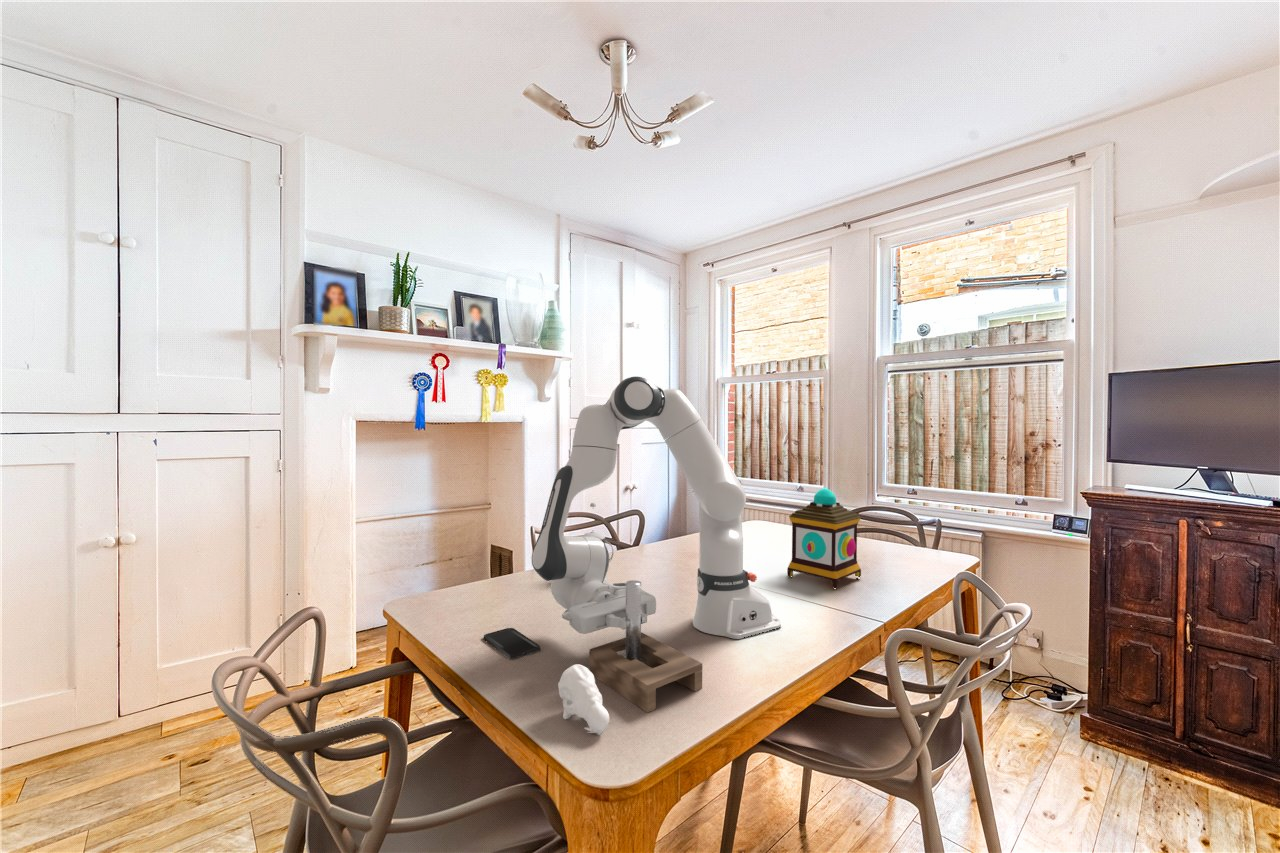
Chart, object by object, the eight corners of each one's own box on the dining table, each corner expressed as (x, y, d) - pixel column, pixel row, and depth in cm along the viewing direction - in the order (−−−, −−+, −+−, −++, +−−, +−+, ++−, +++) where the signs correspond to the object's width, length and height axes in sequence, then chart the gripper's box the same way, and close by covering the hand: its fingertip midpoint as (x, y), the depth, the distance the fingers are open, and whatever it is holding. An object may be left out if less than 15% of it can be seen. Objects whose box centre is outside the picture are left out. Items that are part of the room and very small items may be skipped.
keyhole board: (589, 672, 112) (589, 649, 111) (641, 654, 120) (641, 632, 120) (647, 712, 97) (647, 685, 97) (702, 688, 106) (702, 663, 105)
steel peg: (641, 660, 115) (642, 577, 114) (650, 673, 110) (650, 585, 109) (616, 664, 113) (616, 580, 113) (623, 677, 108) (624, 588, 107)
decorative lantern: (781, 577, 178) (781, 487, 177) (811, 566, 192) (812, 482, 191) (838, 592, 163) (839, 494, 163) (867, 579, 177) (868, 488, 176)
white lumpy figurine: (586, 656, 100) (621, 689, 90) (584, 699, 101) (618, 736, 91) (556, 665, 96) (589, 700, 87) (553, 709, 97) (586, 749, 87)
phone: (511, 626, 134) (541, 646, 122) (511, 631, 134) (541, 651, 122) (481, 635, 129) (510, 656, 117) (481, 639, 129) (510, 662, 117)
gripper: (557, 599, 115) (593, 618, 104) (633, 581, 127) (672, 597, 117) (557, 628, 115) (593, 651, 104) (633, 607, 128) (672, 625, 117)
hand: (635, 622), depth 110 cm, fingers closed on steel peg, 3 cm apart
